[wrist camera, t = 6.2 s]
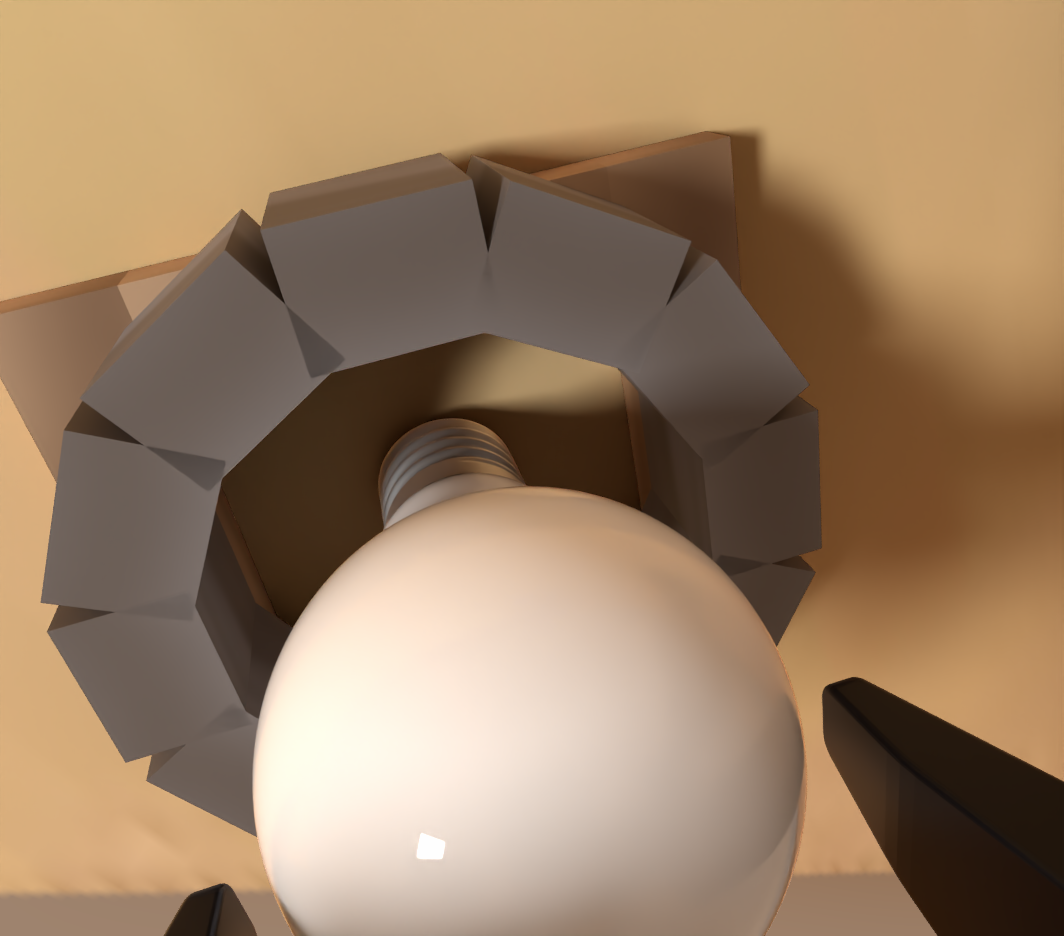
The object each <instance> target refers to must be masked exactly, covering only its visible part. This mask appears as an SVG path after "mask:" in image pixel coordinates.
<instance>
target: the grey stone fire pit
mask: <svg viewBox="0 0 1064 936" xmlns="http://www.w3.org/2000/svg"><path fill="white" fill-rule="evenodd" d="M482 333H488V334H491V335H495V336H499V337H503V338H506V339H510V340H514V341H518V342H522V343H525V344H529V345H533V346H537V347H540V348H544V349H548V350H552V351H556V352H559V353H563V354H567V355H571V356H574V357H578V358H582V359H586V360H590V361H593V362H597V363H601V364H605V365H608V366H612V367H616V368H618V370H619V371H620V372H621V377H622V383H623V390H624V397H625V404H626V410H627V417H628V424H629V431H630V437H631V444H632V451H633V457H634V464H635V471H636V478H637V484H638V491H639V498H640V505H641V511H642V512H644V513H646V514H648V515H650V516H652V517H653V518H655V519H657V520H659V521H661V522H662V523H664V524H666V525H668V526H669V527H671V528H672V529H674V530H675V531H677V532H678V533H680V534H681V535H683V536H684V537H686V538H687V539H688V540H690V541H691V542H692V543H694V544H695V545H696V546H697V547H699V548H700V549H701V550H702V551H703V552H705V553H706V554H707V555H708V556H709V557H710V558H711V559H712V560H713V561H714V562H716V563H717V564H718V565H719V566H720V567H721V568H722V570H723V571H724V572H725V573H726V574H727V575H728V576H729V577H730V578H731V579H732V580H733V581H734V583H735V584H736V585H737V586H738V587H739V589H740V590H741V591H742V592H743V594H744V595H745V596H746V598H747V599H748V600H749V602H750V603H751V605H752V606H753V607H754V609H755V610H756V612H757V613H758V615H759V617H760V618H761V620H762V622H763V623H764V625H765V626H766V628H767V630H768V632H769V634H770V636H771V638H772V639H773V641H774V643H775V645H776V647H777V645H778V643H779V641H780V639H781V638H782V636H783V634H784V632H785V630H786V628H787V626H788V624H789V622H790V620H791V618H792V616H793V615H794V613H795V611H796V609H797V607H798V605H799V603H800V601H801V599H802V597H803V595H804V594H805V592H806V590H807V588H808V586H809V584H810V582H811V580H812V578H813V576H814V574H815V571H814V570H813V569H812V568H811V567H810V566H809V565H808V564H807V563H806V562H805V561H804V560H803V559H802V558H801V557H800V556H799V555H801V554H804V553H808V552H811V551H814V550H817V549H821V548H822V541H821V504H820V467H819V429H818V410H817V409H816V408H814V407H813V406H811V405H810V404H809V403H807V402H806V401H805V400H803V399H802V398H800V397H799V396H798V395H799V394H800V393H801V392H802V391H803V390H804V389H806V388H807V387H808V386H809V383H808V382H807V381H806V379H805V378H804V377H803V375H802V374H801V372H800V371H799V370H798V368H797V367H796V366H795V364H794V363H793V362H792V360H791V359H790V358H789V356H788V355H787V354H786V352H785V351H784V349H783V348H782V347H781V345H780V344H779V343H778V341H777V340H776V339H775V337H774V336H773V335H772V333H771V332H770V331H769V329H768V328H767V326H766V325H765V324H764V322H763V321H762V320H761V318H760V317H759V316H758V314H757V313H756V312H755V310H754V309H753V308H752V306H751V305H750V303H749V302H748V301H747V299H746V298H745V297H744V295H743V294H742V293H741V284H740V270H739V256H738V241H737V227H736V213H735V199H734V184H733V170H732V156H731V142H730V136H726V135H721V134H716V133H712V132H707V131H705V132H701V133H697V134H692V135H688V136H684V137H680V138H676V139H672V140H668V141H663V142H659V143H655V144H651V145H647V146H643V147H639V148H634V149H630V150H626V151H622V152H618V153H614V154H610V155H606V156H601V157H597V158H593V159H589V160H585V161H581V162H577V163H572V164H568V165H564V166H560V167H556V168H552V169H548V170H543V171H539V172H535V173H531V174H528V173H525V172H522V171H519V170H516V169H513V168H510V167H507V166H504V165H501V164H498V163H495V162H492V161H489V160H486V159H483V158H480V157H478V156H475V155H472V154H471V158H470V161H469V165H468V168H467V172H466V174H465V173H464V172H463V171H462V170H460V169H459V168H458V167H457V166H455V165H454V164H453V163H452V162H451V161H449V160H448V159H447V158H446V157H445V156H443V155H442V154H441V153H438V154H433V155H429V156H425V157H421V158H416V159H412V160H408V161H404V162H400V163H395V164H391V165H387V166H383V167H378V168H374V169H370V170H366V171H361V172H357V173H353V174H349V175H344V176H340V177H336V178H332V179H327V180H323V181H319V182H315V183H310V184H306V185H302V186H298V187H293V188H289V189H285V190H281V191H276V192H272V193H270V195H269V199H268V202H267V206H266V210H265V214H264V217H263V221H262V225H261V226H260V225H258V224H257V223H256V222H255V221H254V220H253V219H252V218H251V217H250V216H249V215H248V214H247V213H246V212H245V211H244V210H242V209H241V210H240V211H239V212H238V213H237V214H236V215H235V216H234V217H233V218H232V219H231V220H230V221H229V222H228V224H227V225H226V226H225V227H224V228H223V229H222V230H221V231H220V232H219V233H218V234H217V235H216V236H215V237H214V238H213V239H212V240H211V241H210V242H209V243H208V244H207V245H206V246H205V247H204V248H203V249H202V250H201V251H200V252H199V253H198V254H196V255H192V256H187V257H183V258H179V259H175V260H171V261H167V262H163V263H159V264H154V265H150V266H146V267H142V268H138V269H134V270H130V271H125V272H121V273H117V274H113V275H109V276H105V277H101V278H96V279H92V280H88V281H84V282H80V283H76V284H72V285H67V286H63V287H59V288H55V289H51V290H47V291H43V292H38V293H34V294H30V295H26V296H22V297H18V298H14V299H9V300H5V301H1V302H0V378H1V380H2V382H3V384H4V386H5V387H6V389H7V391H8V393H9V395H10V397H11V399H12V401H13V402H14V404H15V406H16V408H17V410H18V412H19V414H20V415H21V417H22V419H23V421H24V423H25V425H26V427H27V429H28V430H29V432H30V434H31V436H32V438H33V440H34V442H35V443H36V445H37V447H38V449H39V451H40V453H41V455H42V457H43V458H44V460H45V462H46V464H47V466H48V468H49V470H50V472H51V473H52V475H53V477H54V479H55V481H56V483H57V484H56V492H55V499H54V507H53V514H52V522H51V529H50V537H49V544H48V552H47V559H46V567H45V574H44V582H43V589H42V597H41V603H46V604H54V605H59V606H58V608H57V611H56V613H55V615H54V617H53V620H52V622H51V624H50V626H49V629H48V631H47V632H48V634H49V636H50V637H51V639H52V641H53V642H54V644H55V646H56V647H57V649H58V651H59V652H60V654H61V656H62V657H63V659H64V661H65V662H66V664H67V666H68V667H69V669H70V671H71V672H72V674H73V676H74V677H75V679H76V681H77V682H78V684H79V686H80V687H81V689H82V691H83V692H84V694H85V696H86V697H87V699H88V701H89V702H90V704H91V706H92V707H93V709H94V711H95V712H96V714H97V716H98V717H99V719H100V721H101V722H102V724H103V726H104V727H105V729H106V731H107V732H108V734H109V736H110V737H111V739H112V741H113V742H114V744H115V746H116V747H117V749H118V751H119V752H120V754H121V756H122V757H123V759H124V761H125V762H130V761H133V760H136V759H139V758H143V757H146V756H149V755H152V757H151V762H150V766H149V771H148V775H147V780H146V781H148V782H149V783H151V784H153V785H155V786H157V787H159V788H161V789H163V790H165V791H167V792H169V793H171V794H173V795H175V796H177V797H179V798H181V799H183V800H185V801H187V802H189V803H191V804H193V805H195V806H197V807H199V808H201V809H203V810H205V811H207V812H209V813H211V814H213V815H215V816H217V817H219V818H220V819H222V820H224V821H226V822H228V823H230V824H232V825H234V826H236V827H238V828H240V829H242V830H244V831H246V832H248V833H250V834H252V835H254V836H256V837H257V833H256V826H255V819H254V810H253V796H252V769H253V753H254V745H255V737H256V731H257V725H258V720H259V715H260V710H261V706H262V702H263V699H264V695H265V691H266V688H267V685H268V682H269V679H270V676H271V674H272V671H273V668H274V666H275V663H276V661H277V659H278V656H279V654H280V652H281V650H282V647H283V645H284V643H285V641H286V639H287V638H288V636H289V634H290V632H291V630H292V627H291V626H289V625H288V624H286V623H285V622H283V621H282V620H281V619H279V618H278V617H277V616H276V614H275V611H274V609H273V607H272V604H271V602H270V600H269V597H268V595H267V593H266V590H265V588H264V585H263V583H262V581H261V578H260V576H259V574H258V571H257V569H256V567H255V564H254V562H253V560H252V557H251V555H250V553H249V550H248V548H247V546H246V543H245V541H244V539H243V536H242V534H241V532H240V529H239V527H238V525H237V522H236V520H235V517H234V515H233V513H232V510H231V508H230V506H229V503H228V501H227V499H226V496H225V494H224V492H223V489H222V487H221V481H222V478H223V477H224V476H225V475H226V474H227V473H228V472H230V471H231V470H232V469H233V468H234V467H235V466H236V465H237V464H238V463H239V462H240V461H241V460H242V459H243V458H244V457H245V456H246V455H247V454H248V453H249V452H250V451H251V450H252V449H253V448H254V447H255V446H256V445H257V444H258V443H259V442H260V441H262V440H263V439H264V438H265V437H266V436H267V435H268V434H269V433H270V432H271V431H272V430H273V429H274V428H275V427H276V426H277V425H278V424H279V423H280V422H281V421H282V420H283V419H284V418H285V417H286V416H287V415H288V414H289V413H290V412H291V411H292V410H294V409H295V408H296V407H297V406H298V405H299V404H300V403H301V402H302V401H303V400H304V399H305V398H306V397H307V396H308V395H309V394H310V393H311V392H312V391H313V390H314V389H315V388H316V387H317V386H318V385H319V384H320V383H321V382H322V381H323V380H324V379H326V378H327V377H328V376H329V375H330V374H331V373H333V372H337V371H341V370H345V369H348V368H352V367H356V366H360V365H364V364H367V363H371V362H375V361H379V360H383V359H386V358H390V357H394V356H398V355H402V354H405V353H409V352H413V351H417V350H421V349H425V348H428V347H432V346H436V345H440V344H444V343H447V342H451V341H455V340H459V339H463V338H466V337H470V336H474V335H478V334H482Z"/></svg>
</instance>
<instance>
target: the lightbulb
mask: <svg viewBox="0 0 1064 936" xmlns="http://www.w3.org/2000/svg"><path fill="white" fill-rule="evenodd" d="M378 491H379V498H380V504H381V510H382V518H383V523H384V529H383V531H382V532H380V533H379V534H377V535H376V536H374V537H373V538H372V539H370V540H369V541H368V542H366V543H365V544H364V545H363V546H362V547H360V548H359V549H358V550H357V551H355V552H354V553H353V554H352V555H351V556H350V557H349V558H348V559H347V560H346V561H345V562H344V563H343V564H342V565H341V566H340V567H339V568H338V569H337V570H336V571H335V572H334V573H333V574H332V575H331V576H330V577H329V578H328V579H327V580H326V582H325V583H324V584H323V585H322V586H321V588H320V589H319V590H318V591H317V592H316V594H315V595H314V596H313V598H312V599H311V600H310V602H309V603H308V605H307V606H306V608H305V609H304V611H303V612H302V614H301V615H300V617H299V618H298V620H297V622H296V623H295V625H294V627H293V628H292V630H291V632H290V634H289V636H288V638H287V639H286V641H285V643H284V645H283V647H282V650H281V652H280V654H279V656H278V659H277V661H276V663H275V666H274V668H273V671H272V674H271V676H270V679H269V682H268V685H267V688H266V691H265V695H264V699H263V702H262V706H261V710H260V715H259V720H258V725H257V731H256V737H255V745H254V753H253V769H252V796H253V810H254V819H255V826H256V833H257V838H258V844H259V848H260V852H261V856H262V860H263V864H264V868H265V871H266V874H267V877H268V880H269V883H270V886H271V889H272V891H273V894H274V896H275V899H276V901H277V904H278V906H279V908H280V910H281V912H282V914H283V916H284V919H285V920H286V923H287V925H288V926H289V928H290V930H291V932H292V934H293V935H294V936H765V935H766V933H767V932H768V930H769V928H770V926H771V924H772V922H773V920H774V919H775V917H776V915H777V912H778V910H779V908H780V906H781V904H782V901H783V899H784V897H785V894H786V891H787V889H788V886H789V883H790V881H791V878H792V874H793V871H794V868H795V864H796V861H797V857H798V853H799V848H800V844H801V839H802V834H803V827H804V820H805V812H806V799H807V762H806V750H805V742H804V735H803V728H802V723H801V718H800V714H799V709H798V705H797V701H796V698H795V694H794V691H793V688H792V685H791V682H790V679H789V676H788V673H787V671H786V668H785V666H784V663H783V661H782V658H781V656H780V654H779V652H778V650H777V647H776V645H775V643H774V641H773V639H772V638H771V636H770V634H769V632H768V630H767V628H766V626H765V625H764V623H763V622H762V620H761V618H760V617H759V615H758V613H757V612H756V610H755V609H754V607H753V606H752V605H751V603H750V602H749V600H748V599H747V598H746V596H745V595H744V594H743V592H742V591H741V590H740V589H739V587H738V586H737V585H736V584H735V583H734V581H733V580H732V579H731V578H730V577H729V576H728V575H727V574H726V573H725V572H724V571H723V570H722V568H721V567H720V566H719V565H718V564H717V563H716V562H714V561H713V560H712V559H711V558H710V557H709V556H708V555H707V554H706V553H705V552H703V551H702V550H701V549H700V548H699V547H697V546H696V545H695V544H694V543H692V542H691V541H690V540H688V539H687V538H686V537H684V536H683V535H681V534H680V533H678V532H677V531H675V530H674V529H672V528H671V527H669V526H668V525H666V524H664V523H662V522H661V521H659V520H657V519H655V518H653V517H652V516H650V515H648V514H646V513H644V512H642V511H639V510H637V509H635V508H632V507H630V506H628V505H625V504H623V503H620V502H617V501H614V500H611V499H608V498H605V497H602V496H598V495H594V494H590V493H586V492H581V491H576V490H570V489H564V488H555V487H542V486H527V485H526V484H525V482H524V480H523V478H522V476H521V474H520V471H519V469H518V467H517V466H516V463H515V461H514V459H513V457H512V455H511V454H510V451H509V450H508V448H507V446H506V445H505V443H504V442H503V441H502V440H501V439H500V437H498V436H497V435H496V434H495V433H494V432H493V431H491V430H490V429H488V428H487V427H485V426H483V425H481V424H479V423H476V422H473V421H469V420H465V419H456V418H448V419H439V420H434V421H430V422H427V423H424V424H422V425H419V426H417V427H415V428H413V429H412V430H410V431H409V432H407V433H406V434H404V435H403V436H402V437H401V438H400V439H399V440H398V441H396V443H395V444H394V445H393V446H392V447H391V449H390V450H389V452H388V453H387V455H386V457H385V459H384V461H383V463H382V466H381V469H380V472H379V478H378Z"/></svg>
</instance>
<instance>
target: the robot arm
mask: <svg viewBox="0 0 1064 936" xmlns="http://www.w3.org/2000/svg"><path fill="white" fill-rule="evenodd" d="M822 704H823V734H824V741H825V744H826V747H827V750H828V752H829V754H830V756H831V758H832V760H833V762H834V764H835V766H836V767H837V769H838V771H839V773H840V775H841V777H842V778H843V780H844V782H845V784H846V786H847V787H848V789H849V791H850V793H851V795H852V797H853V798H854V800H855V802H856V804H857V806H858V807H859V809H860V811H861V813H862V815H863V817H864V818H865V820H866V822H867V824H868V826H869V828H870V829H871V831H872V833H873V835H874V837H875V838H876V840H877V842H878V844H879V846H880V848H881V849H882V851H883V853H884V855H885V857H886V858H887V860H888V862H889V863H890V865H891V867H892V869H893V870H894V872H895V874H896V876H897V877H898V878H899V880H900V882H901V883H902V885H903V886H904V888H905V889H906V891H907V892H908V894H909V895H910V897H911V898H912V900H913V901H914V903H915V904H916V905H917V907H918V908H919V910H920V911H921V913H922V914H923V916H924V917H925V918H926V920H927V921H928V923H929V924H930V926H931V927H932V929H933V930H934V931H935V933H936V934H937V936H1064V781H1062V780H1060V779H1058V778H1056V777H1054V776H1052V775H1050V774H1048V773H1046V772H1044V771H1042V770H1040V769H1038V768H1036V767H1034V766H1032V765H1030V764H1028V763H1027V762H1025V761H1023V760H1021V759H1019V758H1017V757H1015V756H1013V755H1011V754H1009V753H1007V752H1005V751H1003V750H1001V749H999V748H997V747H995V746H993V745H991V744H989V743H987V742H985V741H984V740H982V739H980V738H978V737H976V736H974V735H972V734H970V733H968V732H966V731H964V730H962V729H960V728H958V727H956V726H954V725H952V724H950V723H948V722H946V721H944V720H942V719H940V718H939V717H937V716H935V715H933V714H931V713H929V712H927V711H925V710H923V709H921V708H919V707H917V706H915V705H913V704H911V703H909V702H907V701H905V700H903V699H901V698H899V697H897V696H896V695H894V694H892V693H890V692H888V691H886V690H884V689H882V688H880V687H878V686H876V685H874V684H872V683H870V682H868V681H866V680H864V679H862V678H858V677H851V678H847V679H844V680H841V681H838V682H835V683H832V684H829V685H827V686H826V687H825V688H824V690H823V694H822ZM164 936H257V934H256V931H255V928H254V926H253V924H252V922H251V920H250V919H249V917H248V915H247V913H246V912H245V910H244V908H243V907H242V905H241V903H240V901H239V899H238V898H237V896H236V894H235V893H234V891H233V889H232V888H231V887H230V886H229V885H227V884H225V883H224V884H218V885H215V886H212V887H209V888H206V889H203V890H200V891H197V892H194V893H192V894H190V895H189V896H188V897H187V898H186V899H185V900H184V902H183V903H182V905H181V906H180V908H179V910H178V912H177V913H176V915H175V917H174V919H173V920H172V922H171V924H170V925H169V927H168V929H167V931H166V933H165V934H164Z"/></svg>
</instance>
